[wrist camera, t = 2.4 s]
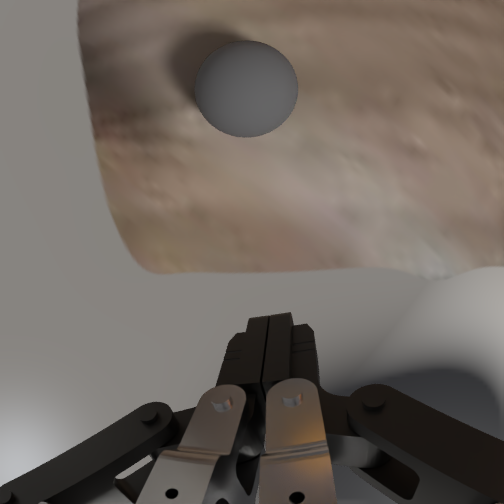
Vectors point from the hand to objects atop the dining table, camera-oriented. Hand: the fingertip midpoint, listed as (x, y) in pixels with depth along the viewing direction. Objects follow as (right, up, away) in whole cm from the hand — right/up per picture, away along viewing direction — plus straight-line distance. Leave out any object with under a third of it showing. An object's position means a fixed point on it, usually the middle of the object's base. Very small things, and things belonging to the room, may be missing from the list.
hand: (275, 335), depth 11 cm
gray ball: (-1, +13, +5) cm, 14 cm away
